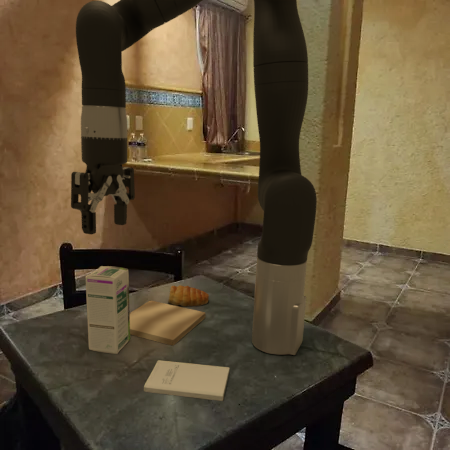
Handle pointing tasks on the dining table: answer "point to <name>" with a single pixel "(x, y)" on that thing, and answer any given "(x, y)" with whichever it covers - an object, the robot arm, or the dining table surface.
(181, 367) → the external hard drive
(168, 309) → the board
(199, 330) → the dining table surface
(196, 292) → the pastry
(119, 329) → the syrup box
